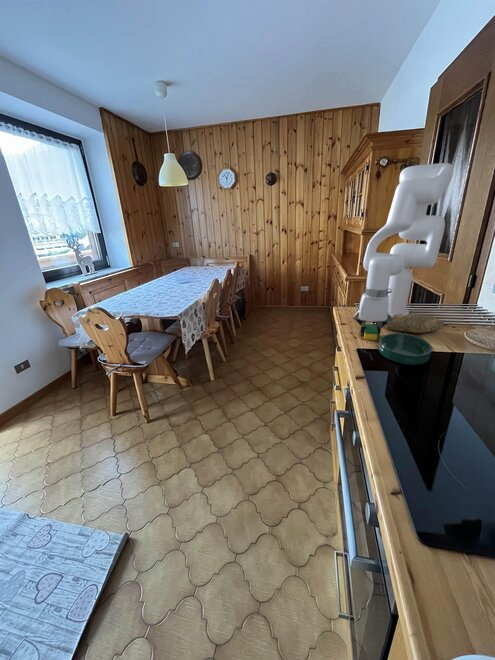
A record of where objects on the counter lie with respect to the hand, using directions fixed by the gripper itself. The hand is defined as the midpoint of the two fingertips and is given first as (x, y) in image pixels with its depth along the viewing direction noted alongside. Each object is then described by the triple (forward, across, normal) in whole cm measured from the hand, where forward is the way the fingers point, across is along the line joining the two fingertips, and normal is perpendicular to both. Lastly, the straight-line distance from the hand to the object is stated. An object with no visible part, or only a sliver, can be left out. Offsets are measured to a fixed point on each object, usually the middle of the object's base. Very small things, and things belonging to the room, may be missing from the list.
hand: (369, 334), depth 113 cm
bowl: (0, -10, +12) cm, 16 cm away
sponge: (+1, -17, -8) cm, 19 cm away
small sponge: (0, 0, 0) cm, 0 cm away
